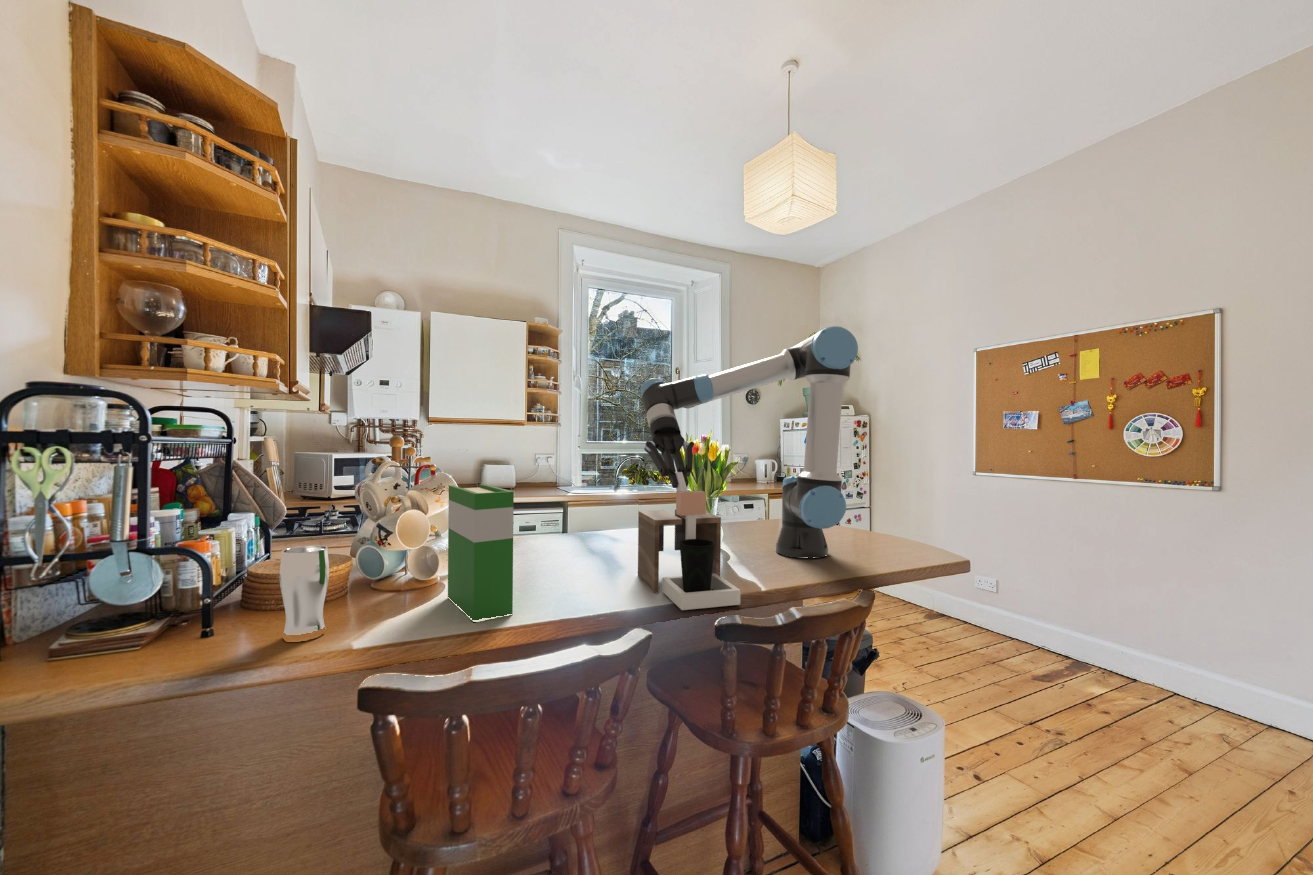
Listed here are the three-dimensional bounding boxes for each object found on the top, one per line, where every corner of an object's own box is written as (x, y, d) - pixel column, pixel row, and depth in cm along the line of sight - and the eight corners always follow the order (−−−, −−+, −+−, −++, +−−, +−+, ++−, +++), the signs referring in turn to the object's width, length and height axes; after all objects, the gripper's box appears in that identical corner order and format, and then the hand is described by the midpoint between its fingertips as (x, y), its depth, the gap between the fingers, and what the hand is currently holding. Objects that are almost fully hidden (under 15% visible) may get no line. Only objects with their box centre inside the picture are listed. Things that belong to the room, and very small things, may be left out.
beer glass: (276, 635, 88) (276, 548, 88) (323, 625, 93) (324, 542, 92) (283, 647, 83) (284, 555, 83) (333, 636, 88) (333, 549, 87)
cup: (715, 604, 106) (716, 546, 106) (678, 603, 107) (679, 545, 107) (713, 592, 114) (714, 539, 114) (679, 591, 114) (679, 538, 114)
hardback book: (447, 598, 108) (448, 485, 108) (482, 592, 113) (483, 483, 113) (473, 623, 94) (474, 493, 94) (512, 615, 99) (513, 491, 99)
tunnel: (697, 571, 132) (698, 508, 132) (720, 587, 118) (720, 517, 118) (637, 575, 127) (638, 510, 127) (654, 592, 114) (654, 520, 113)
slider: (713, 585, 118) (714, 490, 118) (740, 604, 105) (741, 497, 105) (660, 589, 114) (661, 491, 114) (681, 610, 101) (683, 499, 101)
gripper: (683, 435, 137) (705, 506, 121) (636, 434, 133) (653, 508, 118) (690, 415, 132) (715, 486, 116) (642, 414, 128) (660, 487, 112)
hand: (684, 497), depth 117 cm, fingers closed
